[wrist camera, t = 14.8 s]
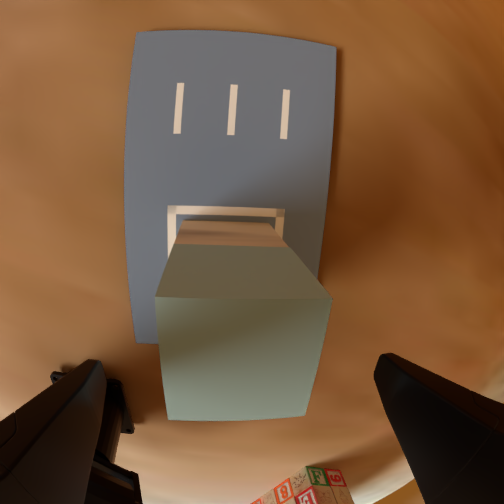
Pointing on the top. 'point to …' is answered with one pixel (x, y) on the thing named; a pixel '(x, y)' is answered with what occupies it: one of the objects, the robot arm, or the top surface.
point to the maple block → (228, 234)
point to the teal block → (238, 332)
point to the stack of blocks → (310, 489)
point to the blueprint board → (223, 145)
